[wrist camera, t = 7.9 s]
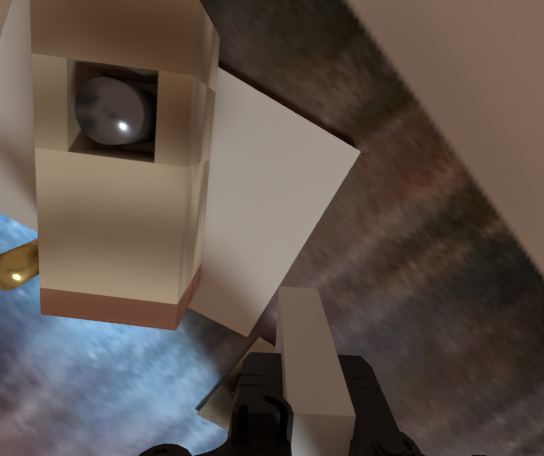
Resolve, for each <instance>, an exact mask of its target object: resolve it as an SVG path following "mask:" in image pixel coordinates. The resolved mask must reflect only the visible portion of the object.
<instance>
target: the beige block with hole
mask: <svg viewBox="0 0 544 456" xmlns="http://www.w3.org/2000/svg"><path fill="white" fill-rule="evenodd" d="M30 26H31V54H32V82H33V110H34V138H35V166H36V194H37V222H38V250H39V278H40V306H41V314H43V315H52V316H60V317H68V318H76V319H85V320H93V321H101V322H109V323H118V324H126V325H134V326H142V327H151V328H159V329H167V330H176V329H177V327H178V325H179V323H180V321H181V319H182V317H183V315H184V313H185V311H186V309H187V307H188V305H189V304H190V302H191V300H192V298H193V296H194V294H195V292H196V290H197V288H198V286H199V283H200V272H201V260H202V248H203V236H204V225H205V213H206V201H207V189H208V177H209V166H210V154H211V142H212V130H213V119H214V107H215V95H216V83H217V71H218V60H219V48H220V36H219V34H218V33H217V31H216V29H215V27H214V25H213V24H212V22H211V20H210V18H209V16H208V15H207V13H206V11H205V9H204V7H203V6H202V4H201V2H200V0H30ZM98 77H108V78H112V79H115V80H118V81H121V82H124V80H129V81H136V82H143V83H151V84H158V98H157V119H156V140H155V152H149V151H141V150H134V149H126V148H122V144H117V145H106V144H102V143H99V142H96V141H94V140H93V139H91V138H90V137H89V136H87V135H86V134H85V133H84V132H83V130H82V129H81V127H80V126H79V124H78V122H77V119H76V116H75V109H74V104H75V98H76V95H77V93H78V91H79V90H80V88H81V87H82V86H83V85H84V84H85V83H86V82H88V81H89V80H91V79H94V78H98Z"/></svg>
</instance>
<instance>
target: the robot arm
mask: <svg viewBox="0 0 544 456" xmlns="http://www.w3.org/2000/svg"><path fill="white" fill-rule="evenodd" d="M275 348H276V353H264V352H250V353H249V354H248V355H247V356H246V358H245V359H244V360H243V362H242V369H241V377H240V386H239V394H238V401H237V402H236V403H235V406H234V408H233V411H232V429H231V436H230V438H229V439H228V440H227V441H226V442H225V443H224V444H223V445H221V446H220V447H218V448H216V449H215V450H212V451H209V452H207V453H203V454H199V455H195V456H425V455H423V454H422V453H421V452H420V450H419V448H418V447H417V445H416V444H415V443H414V441H413V440H412V439H411V438H409V437H408V436H407V435H406V434H404V433H403V432H401V431H399V429H398V427H397V424H396V422H395V420H394V418H393V415H392V413H391V411H390V408H389V406H388V404H387V401H386V399H385V397H384V395H383V392H382V391H381V388H380V385H379V383H378V381H377V378H376V376H375V374H374V371H373V369H372V367H371V366H370V365H369V364H368V363H367V362H366V361H365V360H364V359H363V358H362V357H361V356H352V355H337V353H336V349H335V346H334V343H333V339H332V336H331V333H330V329H329V326H328V323H327V320H326V316H325V313H324V310H323V306H322V303H321V300H320V297H319V293H318V290H317V289H312V288H292V287H280V289H279V303H278V318H277V332H276V347H275ZM139 456H192V455H191V454H190V452H189V451H188V450H187V449H186V448H184V447H181V446H179V445H177V444H161V445H157V446H153V447H151V448H149V449H148V450H146V451H144V452H142V453H141V454H140V455H139ZM472 456H486V455H472Z"/></svg>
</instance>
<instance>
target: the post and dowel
mask: <svg viewBox="0 0 544 456" xmlns="http://www.w3.org/2000/svg"><path fill="white" fill-rule="evenodd" d="M157 98H158V95H157V94H154V93H151V92H149V91H146V90H143V89H140V88H138V87H135V86H132V85H129V84H126V83H124V82H121V81H118V80H115V79H112V78H108V77H98V78H94V79H91V80H89V81H88V82H86V83H85V84H84V85H83V86H82V87H81V88H80V90H79V91H78V93H77V95H76V98H75V104H74V109H75V116H76V119H77V122H78V124H79V126H80V127H81V129H82V130H83V132H84V133H85V134H86V135H87V136H89V137H90V138H91V139H93V140H94V141H96V142H99V143H102V144H106V145H117V144H139V143H155V140H156V119H157ZM37 275H39V250H38V239H35V240H33V241H30V242H28V243H26V244H23V245H21V246H19V247H16V248H14V249H12V250H9V251H7V252H5V253H2V254H0V289H2V290H12V289H14V288H16V287H18V286H20V285H21V284H23V283H25V282H26V281H28V280H30V279H32V278H33V277H35V276H37Z"/></svg>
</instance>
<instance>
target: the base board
mask: <svg viewBox="0 0 544 456" xmlns="http://www.w3.org/2000/svg"><path fill="white" fill-rule="evenodd" d="M124 83H126V84H129V85H132V86H135V87H138V88H140V89H143V90H146V91H149V92H151V93H154V94H157V95H158V84H151V83H143V82H136V81H129V80H124ZM122 148H126V149H134V150H141V151H149V152H155V143H139V144H122ZM359 154H360V151H359V150H357V149H355V148H354V147H352V146H350V145H349V144H347V143H345V142H344V141H342V140H340V139H338V138H337V137H335V136H333V135H332V134H330V133H328V132H327V131H325V130H323V129H322V128H320V127H318V126H317V125H315V124H313V123H312V122H310V121H308V120H307V119H305V118H303V117H301V116H300V115H298V114H296V113H295V112H293V111H291V110H290V109H288V108H286V107H285V106H283V105H281V104H280V103H278V102H276V101H275V100H273V99H271V98H269V97H268V96H266V95H264V94H263V93H261V92H259V91H258V90H256V89H254V88H253V87H251V86H249V85H248V84H246V83H244V82H243V81H241V80H239V79H237V78H236V77H234V76H232V75H231V74H229V73H227V72H226V71H224V70H222V69H221V68H219V67H218V71H217V83H216V95H215V107H214V119H213V130H212V142H211V154H210V166H209V177H208V189H207V201H206V213H205V225H204V236H203V248H202V260H201V272H200V283H199V286H198V288H197V290H196V292H195V294H194V296H193V298H192V300H191V302H190V304H189V305H188V308H190V309H192V310H194V311H196V312H198V313H200V314H202V315H204V316H206V317H208V318H210V319H212V320H214V321H216V322H218V323H220V324H222V325H224V326H226V327H228V328H230V329H232V330H234V331H236V332H238V333H240V334H242V335H244V336H246V337H248V335H249V334H250V332H251V330H252V329H253V327H254V325H255V324H256V322H257V321H258V319H259V317H260V316H261V314H262V312H263V311H264V309H265V307H266V306H267V304H268V303H269V301H270V299H271V298H272V296H273V294H274V293H275V291H276V290H277V288H278V286H279V285H280V283H281V281H282V280H283V278H284V276H285V275H286V273H287V272H288V270H289V268H290V267H291V265H292V263H293V262H294V260H295V258H296V257H297V255H298V254H299V252H300V250H301V249H302V247H303V245H304V244H305V242H306V240H307V239H308V237H309V236H310V234H311V232H312V231H313V229H314V227H315V226H316V224H317V223H318V221H319V219H320V218H321V216H322V214H323V213H324V211H325V209H326V208H327V206H328V205H329V203H330V201H331V200H332V198H333V196H334V195H335V193H336V191H337V190H338V188H339V187H340V185H341V183H342V182H343V180H344V178H345V177H346V175H347V173H348V172H349V170H350V169H351V167H352V165H353V164H354V162H355V160H356V159H357V157H358V156H359ZM0 213H1V214H3V215H5V216H7V217H9V218H11V219H13V220H15V221H17V222H19V223H21V224H23V225H25V226H27V227H29V228H31V229H33V230H35V231H37V232H38V222H37V194H36V166H35V138H34V110H33V82H32V54H31V26H30V0H12V3H11V6H10V8H9V12H8V14H7V18H6V21H5V23H4V26H3V30H2V32H1V36H0Z"/></svg>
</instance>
